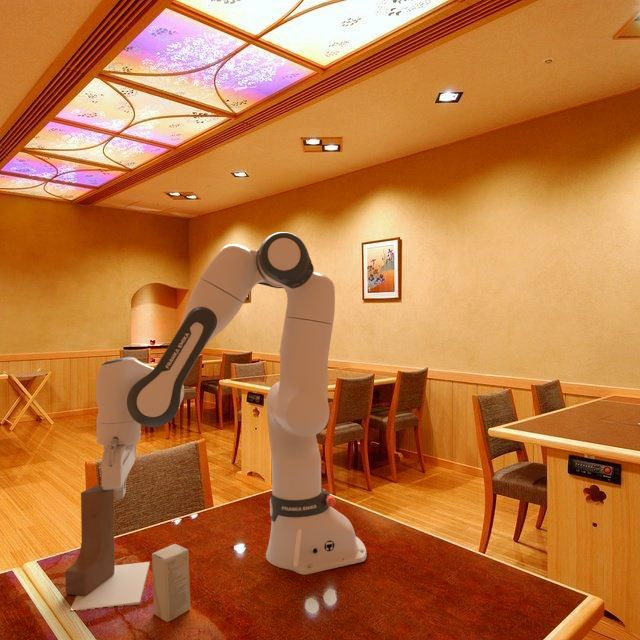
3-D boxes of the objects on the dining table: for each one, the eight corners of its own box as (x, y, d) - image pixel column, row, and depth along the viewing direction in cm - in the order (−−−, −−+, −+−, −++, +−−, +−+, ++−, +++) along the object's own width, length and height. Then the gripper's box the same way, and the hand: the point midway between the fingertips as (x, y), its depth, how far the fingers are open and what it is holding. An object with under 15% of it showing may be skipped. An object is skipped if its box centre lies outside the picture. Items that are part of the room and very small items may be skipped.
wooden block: (84, 597, 96) (83, 501, 96) (64, 594, 97) (63, 500, 97) (115, 574, 104) (114, 486, 104) (96, 571, 105) (95, 485, 105)
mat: (149, 564, 109) (149, 561, 109) (139, 604, 94) (139, 601, 94) (90, 570, 107) (90, 568, 107) (69, 613, 91) (69, 610, 91)
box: (177, 601, 94) (176, 542, 94) (191, 609, 92) (190, 548, 92) (151, 614, 90) (151, 552, 90) (165, 623, 88) (164, 559, 88)
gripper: (126, 443, 100) (128, 513, 100) (140, 422, 120) (141, 481, 120) (92, 445, 98) (93, 516, 98) (112, 424, 118) (113, 483, 118)
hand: (120, 497), depth 109 cm, fingers closed
